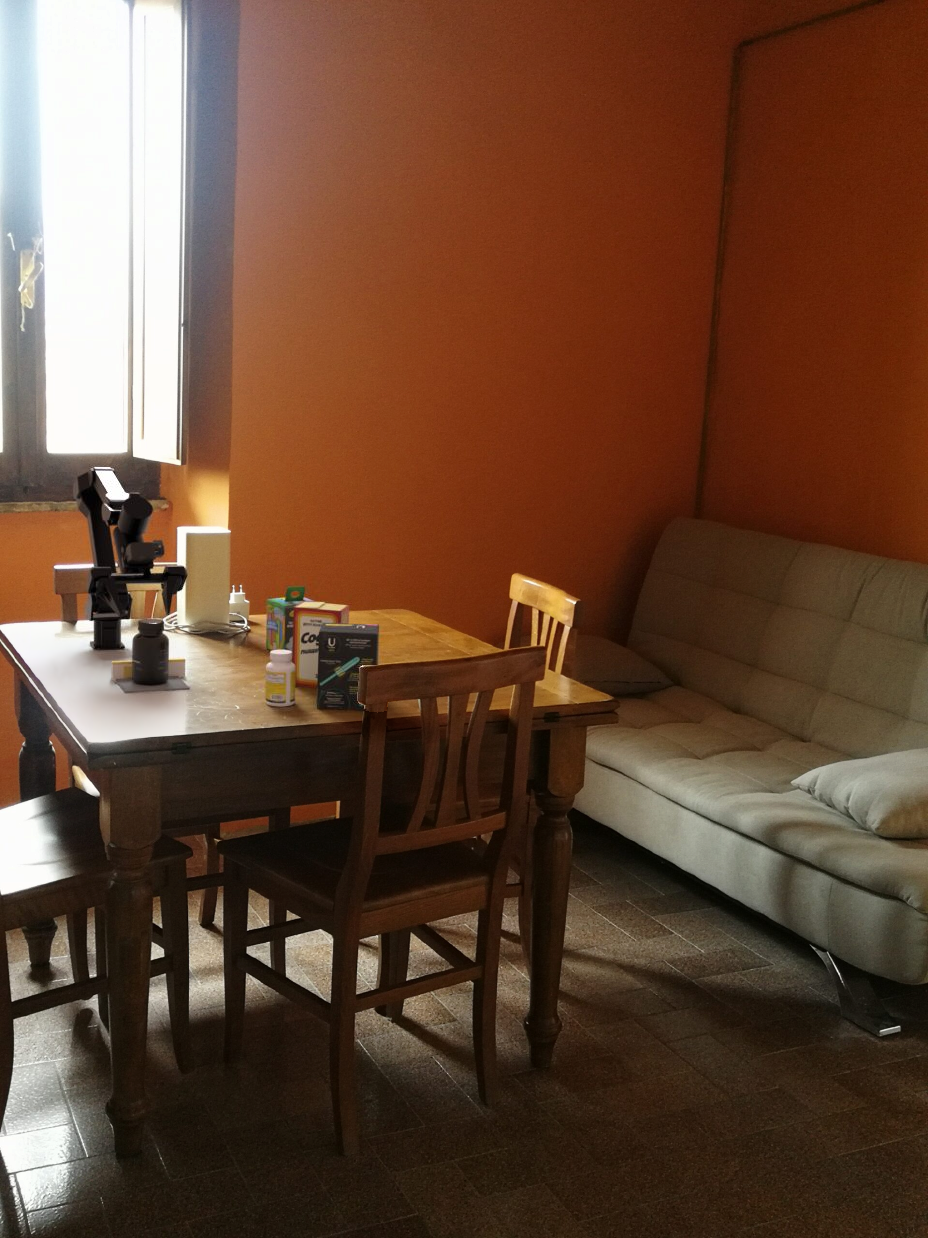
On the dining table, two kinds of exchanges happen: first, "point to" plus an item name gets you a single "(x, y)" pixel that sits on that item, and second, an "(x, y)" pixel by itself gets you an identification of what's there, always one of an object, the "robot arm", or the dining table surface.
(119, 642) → the robot arm
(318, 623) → the baking soda box
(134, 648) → the supplement bottle
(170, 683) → the shelf mat
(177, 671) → the rail
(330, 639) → the tampon box
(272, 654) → the supplement bottle
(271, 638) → the chalk box
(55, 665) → the dining table surface
